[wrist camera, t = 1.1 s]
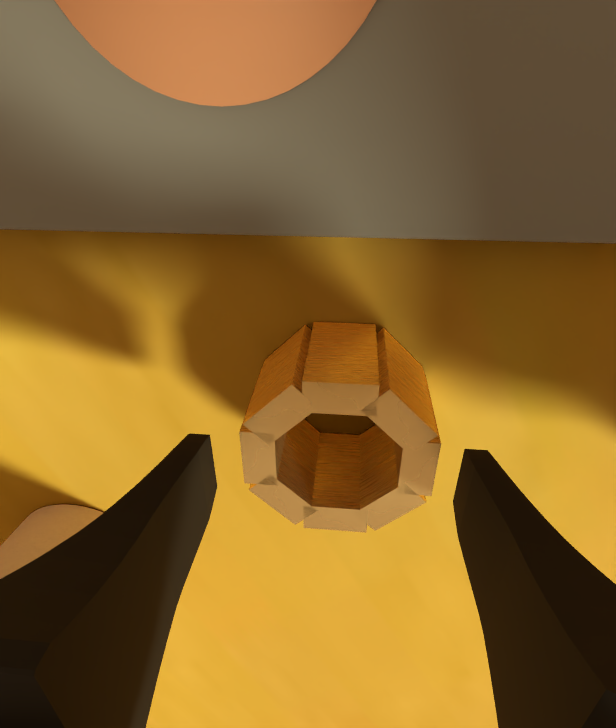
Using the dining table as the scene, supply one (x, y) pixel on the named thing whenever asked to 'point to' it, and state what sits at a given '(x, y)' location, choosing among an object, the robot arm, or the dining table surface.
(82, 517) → the coffee cup
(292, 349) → the wooden collar
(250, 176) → the post board
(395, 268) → the dining table surface
